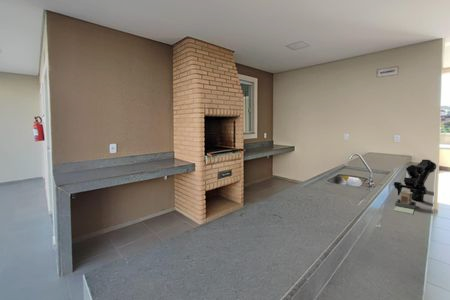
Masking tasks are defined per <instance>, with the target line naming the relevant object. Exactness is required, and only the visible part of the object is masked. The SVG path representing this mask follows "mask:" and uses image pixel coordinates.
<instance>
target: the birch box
mask: <svg viewBox="0 0 450 300" xmlns="http://www.w3.org/2000/svg"><path fill="white" fill-rule="evenodd" d="M411 201H412V202H413V200H412V192H410V191H405V190H404V191H403V190H402V191H401V193H400V203H402V204H407V205H411Z"/></svg>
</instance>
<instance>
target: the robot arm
mask: <svg viewBox="0 0 450 300" xmlns="http://www.w3.org/2000/svg"><path fill="white" fill-rule="evenodd" d="M408 166H409V167H407V166H406V168H405V170H406V173H408V175H409V178H406V176H405V177H404V179H403V183H404V184H403V183H402V182H401V181H400V182H398V181H394V182H393V186H394V188H395V189H396V190H397V196H401V192H402V189H403V188H405V189H408V188H409V189H408V190H409V192H410V193H412V201H413V202H419V203H420V202H421V203H425V202H426V201H425V200H424V197H425V195H427V194H428V190H427V187H426V186H425V183H426V182H427V179H428V177H429V176H430V174H431V173H434V172H435V171H436V170H437V164H436V163H435V162H433V161H432V160H431V159H421V161H420V162H419V163H418V164H416V165H414V164H411V165H408ZM419 174H420V175H419Z"/></svg>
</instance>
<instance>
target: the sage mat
mask: <svg viewBox="0 0 450 300" xmlns="http://www.w3.org/2000/svg"><path fill="white" fill-rule="evenodd" d="M393 211H395V212H399V213H403V214H410V215H413V214H414V211H415V210H414V209H408V208H403V207H398V206H395V207H394V209H393Z"/></svg>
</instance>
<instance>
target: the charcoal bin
mask: <svg viewBox="0 0 450 300" xmlns="http://www.w3.org/2000/svg"><path fill="white" fill-rule="evenodd" d="M394 206H395V207H396V206H398V207H403V208H408V209H414V211H415V209H416V206H417V201H413V200H412V201H411V205H407V204H402V203H400V199H399V198H397V199H396V201H395V205H394Z"/></svg>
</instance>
